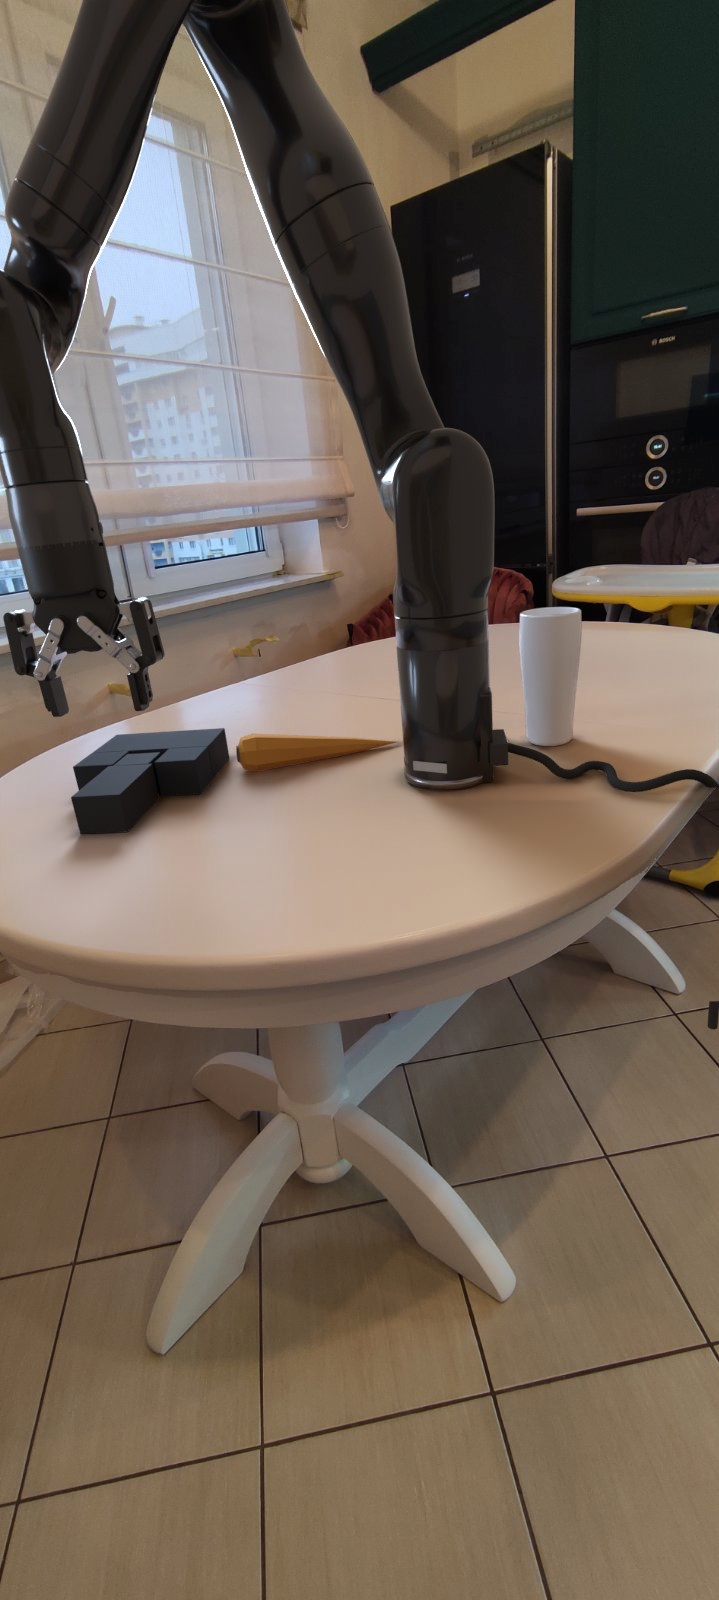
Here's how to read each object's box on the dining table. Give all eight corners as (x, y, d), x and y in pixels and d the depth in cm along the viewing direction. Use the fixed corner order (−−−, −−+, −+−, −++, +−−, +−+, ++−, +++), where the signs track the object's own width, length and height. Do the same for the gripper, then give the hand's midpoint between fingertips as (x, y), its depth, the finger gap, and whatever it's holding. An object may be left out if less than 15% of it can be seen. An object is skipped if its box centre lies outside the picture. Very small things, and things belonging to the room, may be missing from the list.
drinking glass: (581, 749, 82) (584, 613, 76) (519, 750, 83) (518, 617, 78) (576, 731, 88) (579, 605, 82) (519, 732, 89) (519, 608, 84)
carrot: (239, 781, 84) (240, 750, 81) (234, 756, 87) (234, 726, 84) (402, 767, 90) (407, 738, 87) (391, 745, 93) (396, 716, 90)
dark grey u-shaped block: (229, 758, 90) (224, 727, 89) (201, 794, 79) (194, 759, 78) (123, 764, 92) (116, 734, 91) (80, 800, 81) (72, 766, 80)
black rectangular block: (171, 784, 83) (164, 751, 82) (128, 832, 71) (119, 794, 70) (130, 786, 84) (122, 754, 82) (80, 834, 72) (70, 797, 70)
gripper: (-37, 550, 63) (15, 728, 69) (117, 533, 61) (157, 717, 67) (10, 545, 70) (53, 707, 76) (149, 529, 68) (182, 697, 74)
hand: (102, 712), depth 72 cm, fingers open, 8 cm apart
